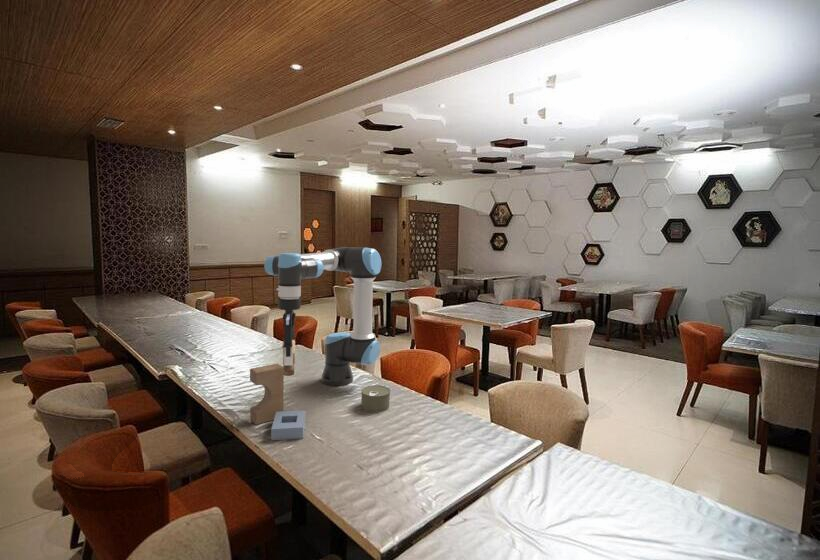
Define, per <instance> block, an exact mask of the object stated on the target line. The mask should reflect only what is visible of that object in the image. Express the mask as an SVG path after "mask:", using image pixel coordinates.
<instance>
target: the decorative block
mask: <svg viewBox="0 0 820 560" xmlns="http://www.w3.org/2000/svg"><path fill="white" fill-rule="evenodd" d="M284 376H285V375H283V366H282V365H281V364H279V363H272V364H267V365H263V366H257V367H252V368H250V369H249V381H250V382H251V383H253V384H254V385H255V386H262V387H263V388H264V394H263V395H264V396H263V397H262V398H261V400H260V402H258V403H257V404H256V405H254V406H252V407H250V409H249V415H250V418H249V419H250V421H251V422H252V423H253V424H255V425H259V424H260V425H262V424H263V423H264V424H265V423H267V422H268V423H269V422H271V421H274V418H275V415H276V412H280V411H285V409H284V407H285V403H284V401H285V399H284V395H285V393H284V392H285V391H284V390H285V388H284V387H285V386H284V385H285V378H284Z"/></svg>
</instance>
